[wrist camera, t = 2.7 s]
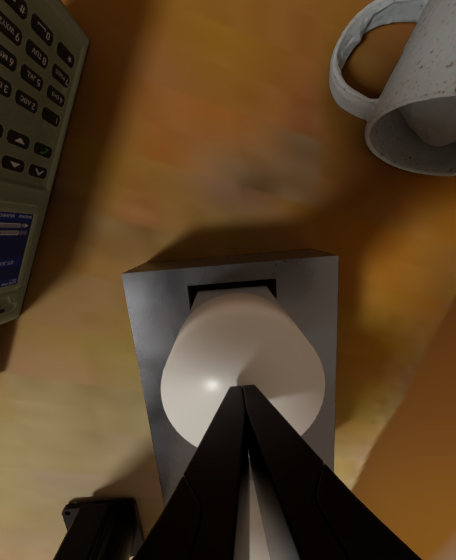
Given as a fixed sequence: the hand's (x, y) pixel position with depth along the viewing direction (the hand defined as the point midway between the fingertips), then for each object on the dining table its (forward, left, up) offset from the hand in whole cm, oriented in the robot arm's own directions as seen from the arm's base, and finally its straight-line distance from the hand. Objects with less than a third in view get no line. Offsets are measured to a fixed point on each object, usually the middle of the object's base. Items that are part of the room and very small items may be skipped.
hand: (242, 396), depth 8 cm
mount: (-5, 0, -10) cm, 11 cm away
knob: (0, 0, -7) cm, 7 cm away
